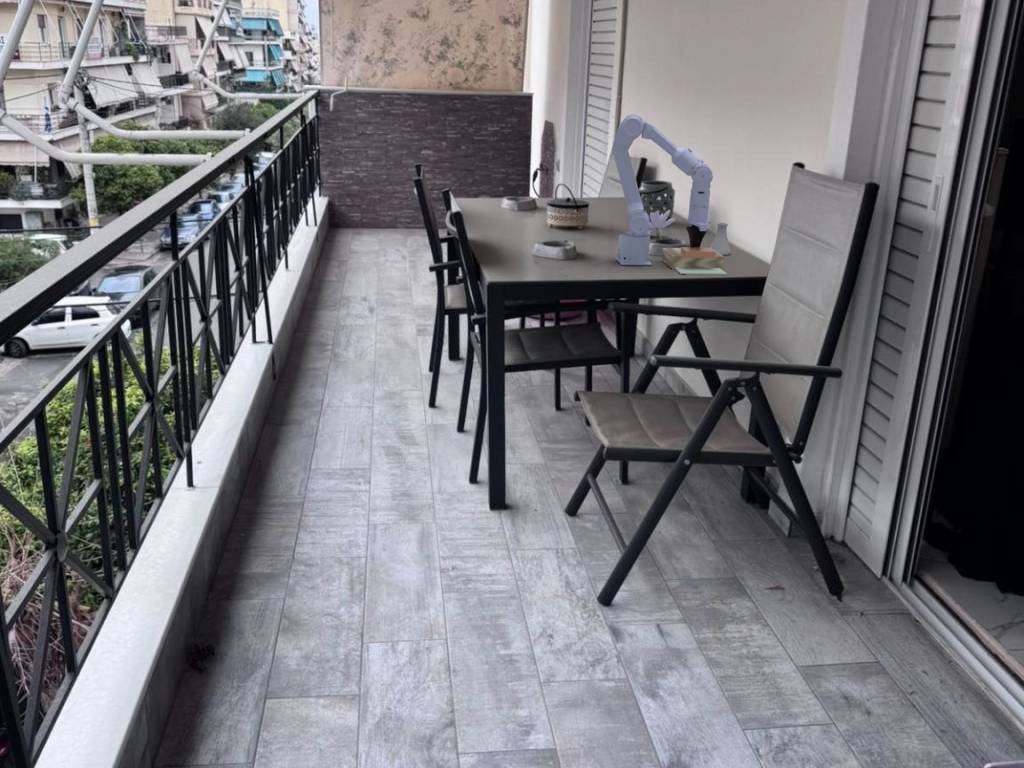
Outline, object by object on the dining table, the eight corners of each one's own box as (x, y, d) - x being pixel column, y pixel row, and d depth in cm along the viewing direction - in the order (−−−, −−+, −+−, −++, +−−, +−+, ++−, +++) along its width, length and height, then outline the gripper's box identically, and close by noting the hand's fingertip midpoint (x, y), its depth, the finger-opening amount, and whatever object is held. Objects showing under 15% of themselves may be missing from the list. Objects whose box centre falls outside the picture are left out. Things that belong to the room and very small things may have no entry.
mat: (680, 274, 270) (680, 273, 270) (674, 269, 277) (674, 267, 277) (726, 275, 271) (727, 273, 271) (719, 269, 278) (719, 268, 278)
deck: (670, 269, 277) (672, 255, 275) (661, 260, 288) (662, 247, 287) (722, 269, 278) (724, 256, 277) (711, 261, 289) (713, 248, 288)
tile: (685, 257, 273) (686, 251, 273) (680, 253, 279) (681, 247, 278) (715, 258, 274) (715, 251, 273) (709, 254, 280) (710, 247, 279)
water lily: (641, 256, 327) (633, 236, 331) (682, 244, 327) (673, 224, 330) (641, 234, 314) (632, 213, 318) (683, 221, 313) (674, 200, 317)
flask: (720, 257, 296) (723, 226, 293) (703, 253, 302) (706, 222, 298) (735, 254, 300) (738, 224, 297) (718, 250, 306) (721, 220, 303)
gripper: (719, 209, 269) (714, 255, 274) (705, 202, 283) (700, 246, 287) (695, 209, 268) (691, 255, 273) (682, 201, 282) (678, 245, 287)
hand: (694, 250), depth 280 cm, fingers closed
